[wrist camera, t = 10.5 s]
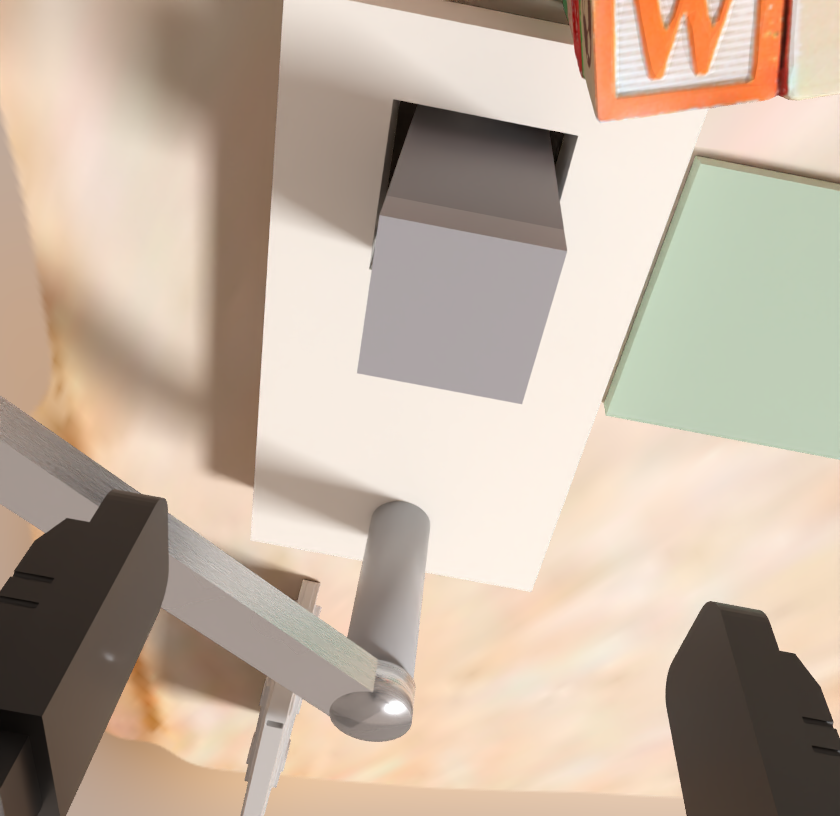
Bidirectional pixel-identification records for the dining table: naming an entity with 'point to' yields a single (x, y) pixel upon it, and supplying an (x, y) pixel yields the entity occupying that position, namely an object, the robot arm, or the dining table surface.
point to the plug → (465, 257)
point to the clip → (214, 590)
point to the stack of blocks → (702, 53)
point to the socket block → (349, 285)
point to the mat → (741, 314)
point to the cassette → (274, 728)
